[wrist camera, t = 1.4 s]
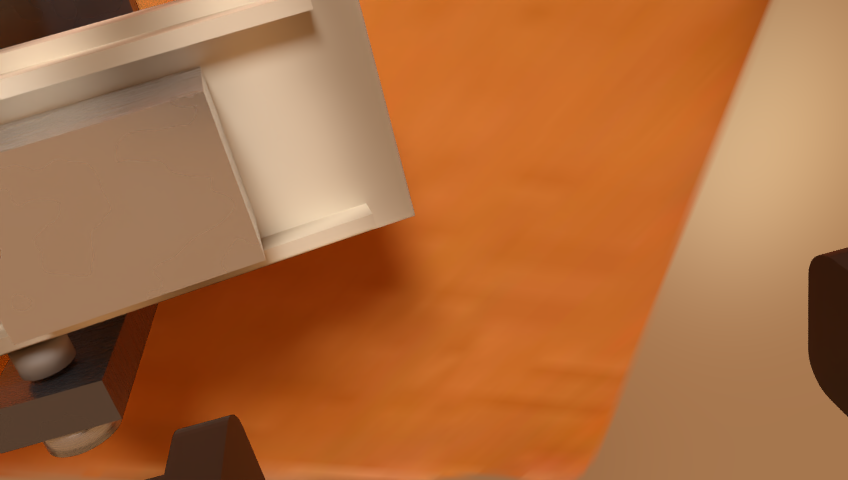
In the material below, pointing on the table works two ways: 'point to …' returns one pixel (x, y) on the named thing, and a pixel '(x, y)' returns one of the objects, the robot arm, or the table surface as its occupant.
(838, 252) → the robot arm
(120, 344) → the stand
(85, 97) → the beam
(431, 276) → the table surface
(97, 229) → the rider
